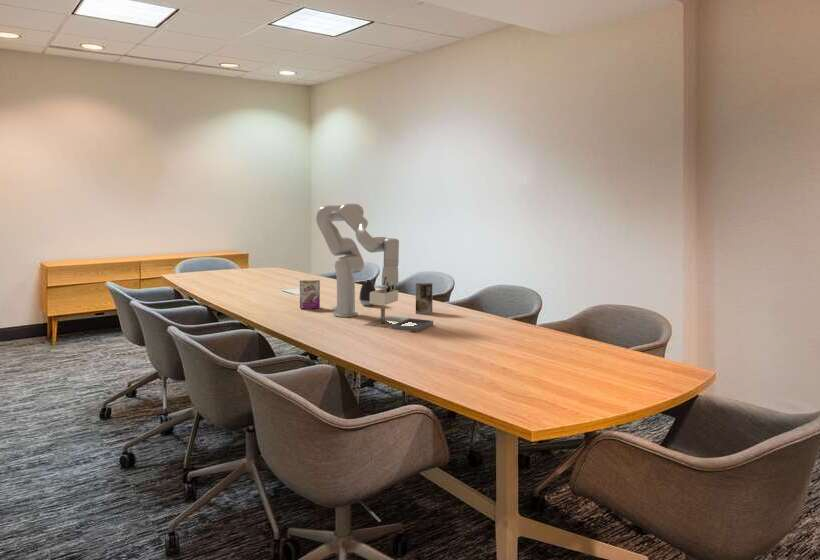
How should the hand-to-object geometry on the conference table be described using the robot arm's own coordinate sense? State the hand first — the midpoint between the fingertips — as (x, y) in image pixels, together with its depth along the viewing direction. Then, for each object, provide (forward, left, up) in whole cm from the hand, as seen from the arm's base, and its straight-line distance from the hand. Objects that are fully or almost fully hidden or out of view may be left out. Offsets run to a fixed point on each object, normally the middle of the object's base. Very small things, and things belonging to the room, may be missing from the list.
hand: (390, 298), depth 309 cm
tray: (+17, -8, -12) cm, 22 cm away
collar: (0, -6, -1) cm, 6 cm away
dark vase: (-33, +35, -12) cm, 50 cm away
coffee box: (+6, +29, -12) cm, 32 cm away
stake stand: (+1, -9, -12) cm, 15 cm away
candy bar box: (-57, +11, -12) cm, 60 cm away
